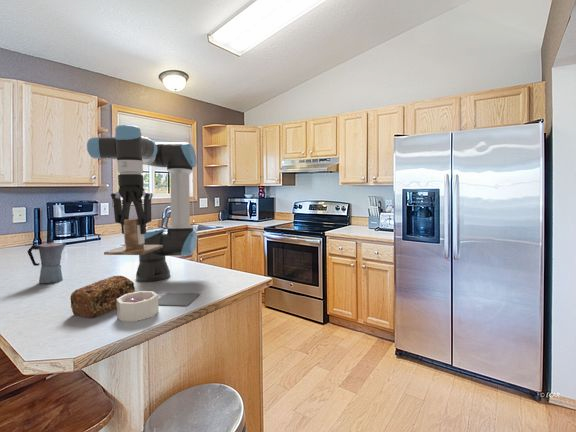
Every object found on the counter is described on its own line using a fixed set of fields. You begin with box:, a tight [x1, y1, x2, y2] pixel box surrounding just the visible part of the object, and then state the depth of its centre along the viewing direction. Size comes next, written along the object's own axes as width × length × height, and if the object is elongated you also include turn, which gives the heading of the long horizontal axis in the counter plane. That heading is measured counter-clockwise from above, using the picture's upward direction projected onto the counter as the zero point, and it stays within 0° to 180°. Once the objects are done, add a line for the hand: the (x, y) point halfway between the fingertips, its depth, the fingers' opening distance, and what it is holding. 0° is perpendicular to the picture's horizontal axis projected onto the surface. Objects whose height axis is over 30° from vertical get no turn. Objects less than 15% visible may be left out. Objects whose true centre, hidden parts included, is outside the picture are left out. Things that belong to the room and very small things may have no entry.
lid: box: [103, 217, 163, 256], centre depth 107 cm, size 13×13×11 cm
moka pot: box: [27, 238, 67, 284], centre depth 148 cm, size 10×15×20 cm, turn 155°
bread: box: [69, 275, 136, 319], centre depth 115 cm, size 19×11×10 cm, turn 158°
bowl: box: [116, 290, 160, 322], centre depth 109 cm, size 12×12×6 cm
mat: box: [158, 291, 201, 307], centre depth 123 cm, size 14×13×1 cm
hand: (134, 243), depth 107 cm, fingers closed on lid, 4 cm apart
